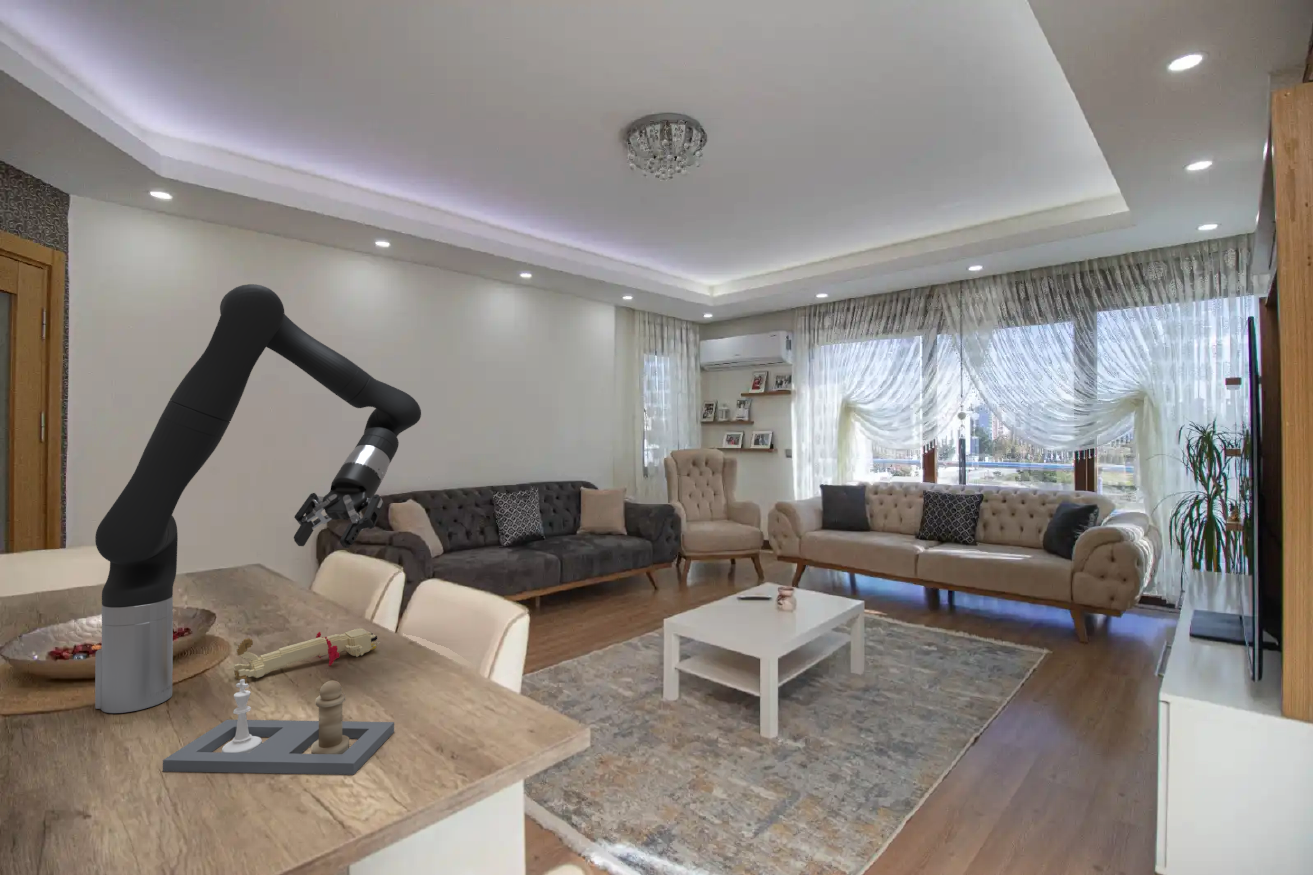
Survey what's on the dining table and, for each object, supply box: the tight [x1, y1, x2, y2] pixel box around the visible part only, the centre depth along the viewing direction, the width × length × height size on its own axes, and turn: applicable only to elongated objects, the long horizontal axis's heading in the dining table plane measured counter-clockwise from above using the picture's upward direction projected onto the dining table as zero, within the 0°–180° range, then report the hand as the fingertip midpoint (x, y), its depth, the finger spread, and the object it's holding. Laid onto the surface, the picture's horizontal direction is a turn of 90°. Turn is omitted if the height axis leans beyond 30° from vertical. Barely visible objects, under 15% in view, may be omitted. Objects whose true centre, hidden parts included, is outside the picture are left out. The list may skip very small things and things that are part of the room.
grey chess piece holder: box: [162, 719, 395, 776], centre depth 89 cm, size 26×12×2 cm, turn 89°
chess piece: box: [221, 679, 263, 753], centre depth 89 cm, size 5×5×10 cm
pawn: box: [310, 680, 350, 754], centre depth 89 cm, size 5×5×10 cm
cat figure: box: [233, 627, 381, 684], centre depth 122 cm, size 10×9×25 cm
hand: (321, 544), depth 106 cm, fingers open, 8 cm apart
